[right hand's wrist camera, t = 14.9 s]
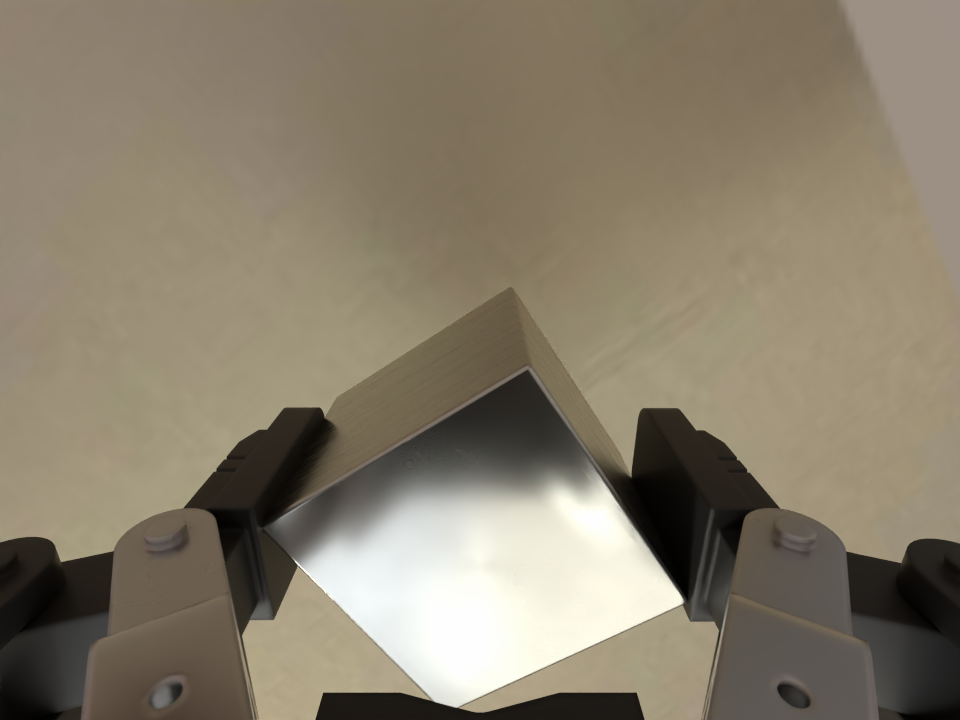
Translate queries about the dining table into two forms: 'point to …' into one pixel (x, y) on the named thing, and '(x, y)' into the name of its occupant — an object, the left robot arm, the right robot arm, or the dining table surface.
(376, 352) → the dining table surface
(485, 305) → the metal cube
